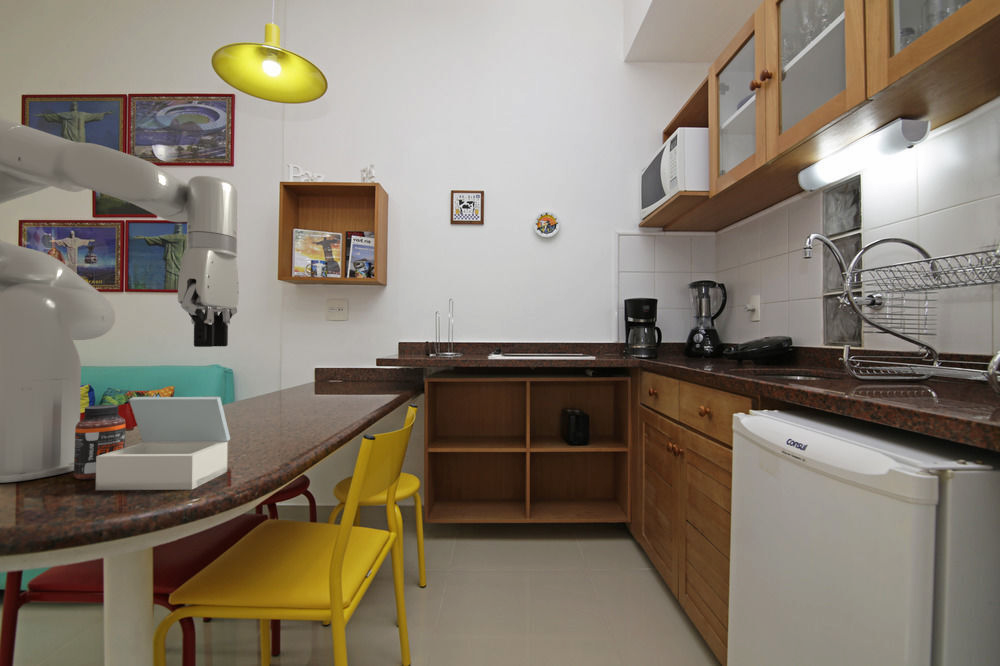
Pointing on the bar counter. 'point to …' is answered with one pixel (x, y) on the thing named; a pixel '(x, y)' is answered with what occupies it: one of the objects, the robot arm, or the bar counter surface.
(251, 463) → the bar counter surface
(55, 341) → the robot arm
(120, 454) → the white hinged box
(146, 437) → the cover
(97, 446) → the supplement bottle
